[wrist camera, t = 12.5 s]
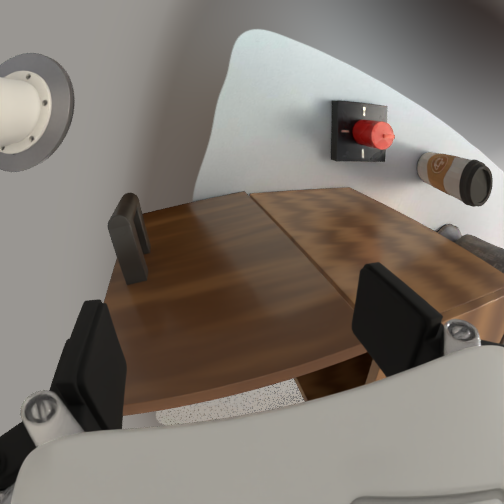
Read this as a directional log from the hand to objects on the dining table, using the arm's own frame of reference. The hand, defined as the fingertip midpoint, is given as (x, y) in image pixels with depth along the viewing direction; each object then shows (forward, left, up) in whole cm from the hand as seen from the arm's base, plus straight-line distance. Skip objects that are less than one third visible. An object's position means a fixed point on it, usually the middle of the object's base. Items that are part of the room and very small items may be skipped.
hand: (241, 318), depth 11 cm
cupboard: (+18, -15, -38) cm, 45 cm away
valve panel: (+28, +4, -38) cm, 48 cm away
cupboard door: (-1, -4, -38) cm, 38 cm away
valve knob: (+28, +4, -36) cm, 46 cm away
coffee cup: (+46, -2, -39) cm, 60 cm away
